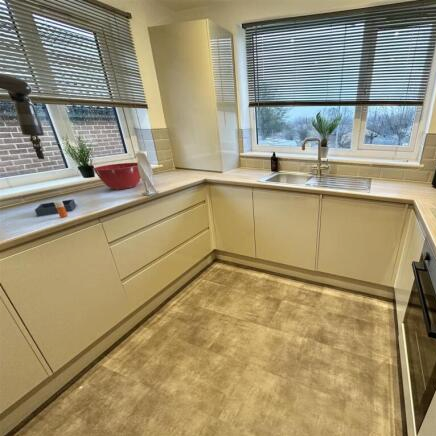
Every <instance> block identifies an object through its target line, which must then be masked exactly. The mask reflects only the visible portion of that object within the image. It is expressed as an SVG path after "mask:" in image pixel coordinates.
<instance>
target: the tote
mask: <svg viewBox="0 0 436 436" xmlns="http://www.w3.org/2000/svg"><path fill="white" fill-rule="evenodd" d="M61 201H62V202H63V205H64V207H65V210H66V212H67V213H68V212H69V213H70V212H73V211H74V209H75V208H76V206H77V205H76V202H75V199H65V200H61ZM54 202H55V201H51V202H43V203H40V204H39V205H38V206H37V207H36V208H34V212H35V214H36V216H37V217H45V216H50V215H56V214H59V213H58V211H57V208H56V206H55V204H54Z"/></svg>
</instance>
